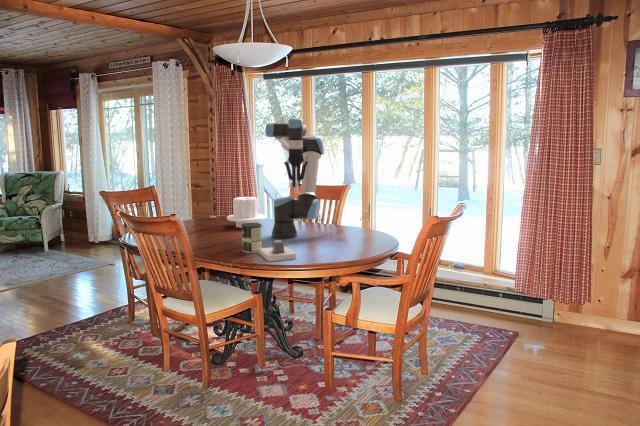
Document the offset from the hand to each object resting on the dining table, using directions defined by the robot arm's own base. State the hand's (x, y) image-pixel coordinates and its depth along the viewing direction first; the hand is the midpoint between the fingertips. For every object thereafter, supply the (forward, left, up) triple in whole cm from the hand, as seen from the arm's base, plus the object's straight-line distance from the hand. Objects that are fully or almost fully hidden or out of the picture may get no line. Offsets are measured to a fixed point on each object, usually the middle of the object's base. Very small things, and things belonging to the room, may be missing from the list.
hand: (296, 192), depth 278 cm
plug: (+18, -16, -29) cm, 38 cm away
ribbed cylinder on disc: (-69, -12, -30) cm, 76 cm away
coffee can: (0, -25, -30) cm, 39 cm away
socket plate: (+16, -16, -29) cm, 37 cm away
